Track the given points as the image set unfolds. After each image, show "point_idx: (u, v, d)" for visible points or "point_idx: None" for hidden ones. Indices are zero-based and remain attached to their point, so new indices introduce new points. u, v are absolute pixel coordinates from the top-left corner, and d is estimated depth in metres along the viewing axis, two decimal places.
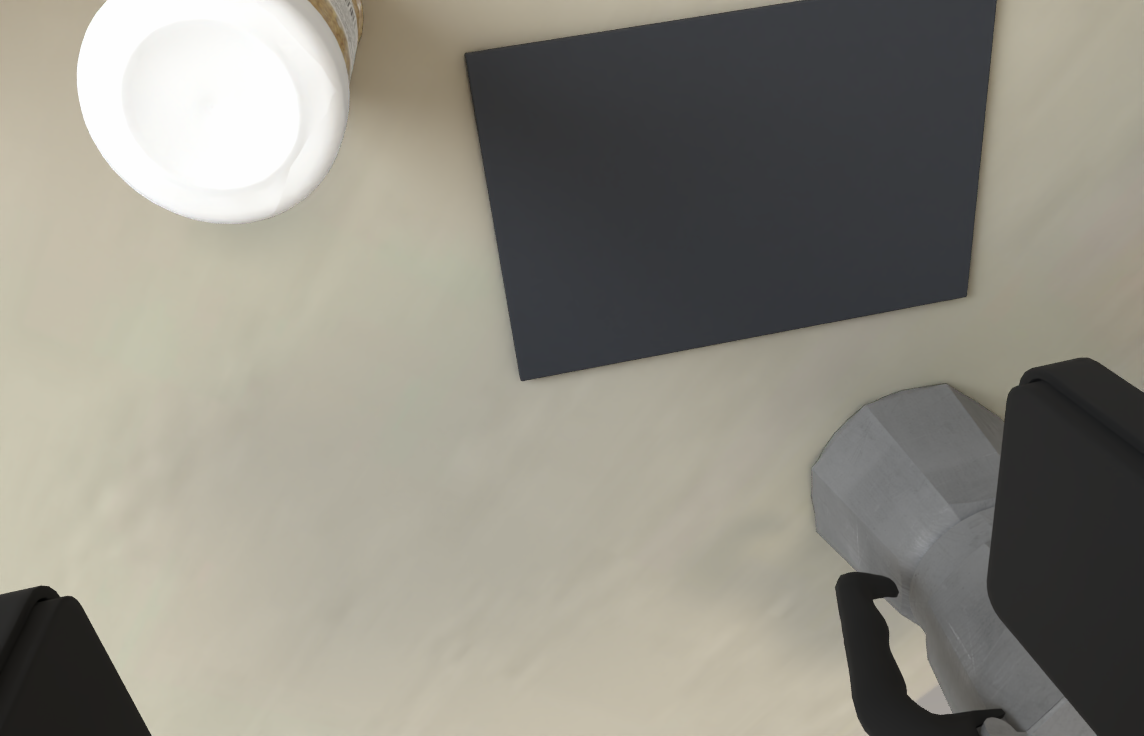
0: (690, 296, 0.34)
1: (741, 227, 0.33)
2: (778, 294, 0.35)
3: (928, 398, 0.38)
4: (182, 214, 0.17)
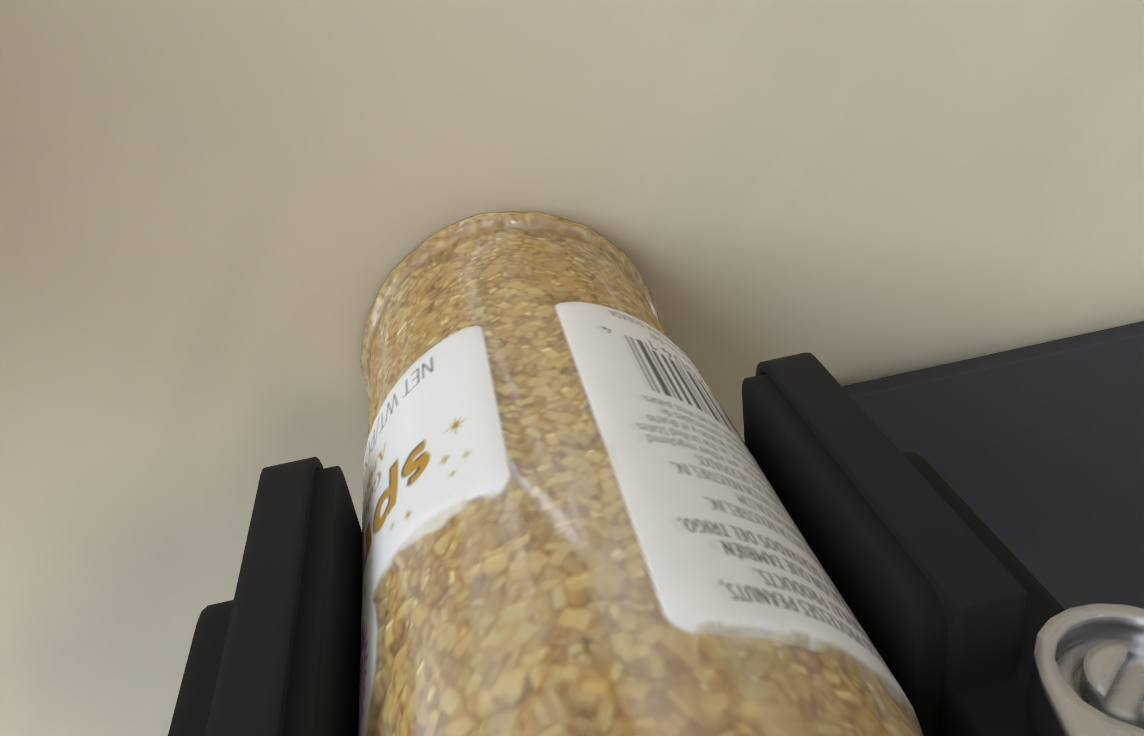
0: None
1: None
2: None
3: None
4: None
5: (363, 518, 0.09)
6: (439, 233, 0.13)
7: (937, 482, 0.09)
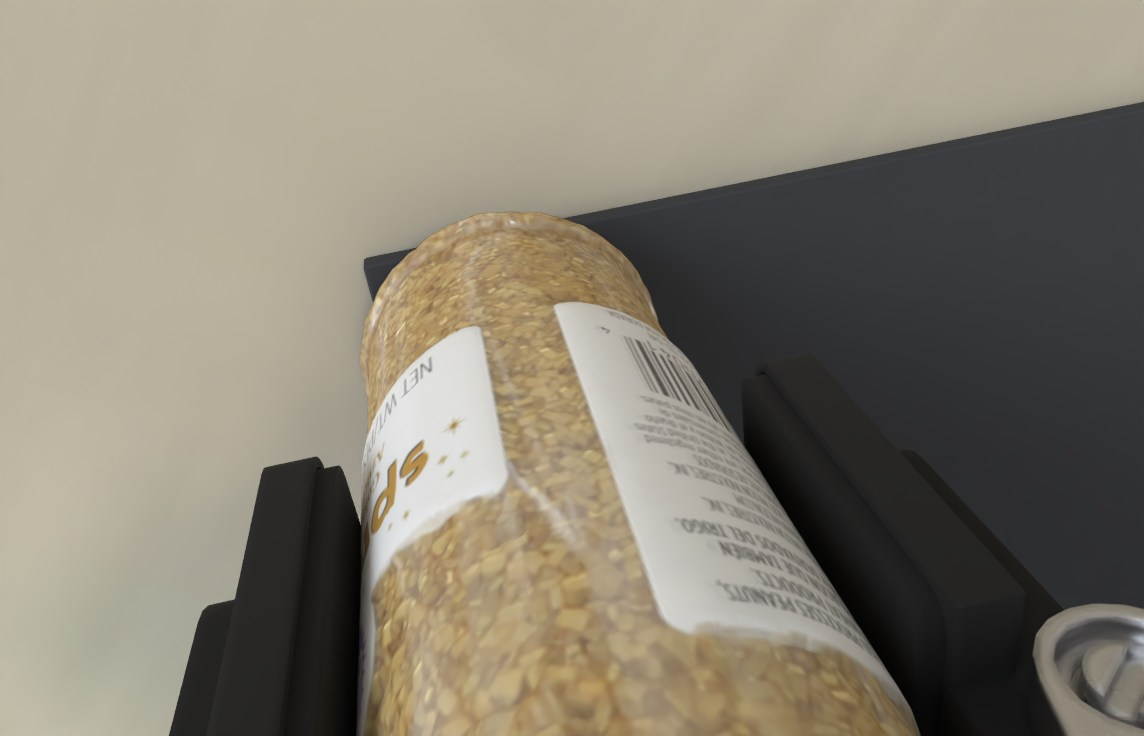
0: None
1: None
2: None
3: None
4: None
5: (362, 518, 0.09)
6: (438, 233, 0.13)
7: (936, 482, 0.09)
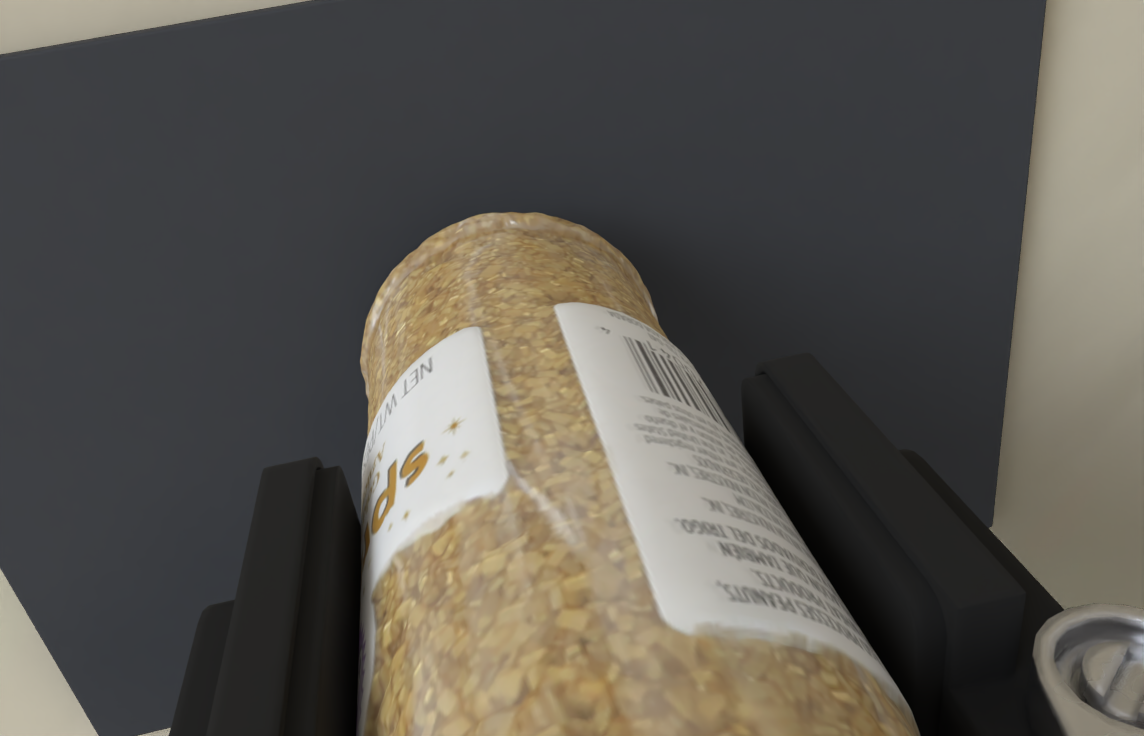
0: None
1: None
2: None
3: None
4: None
5: (362, 518, 0.09)
6: (439, 233, 0.13)
7: (936, 482, 0.09)
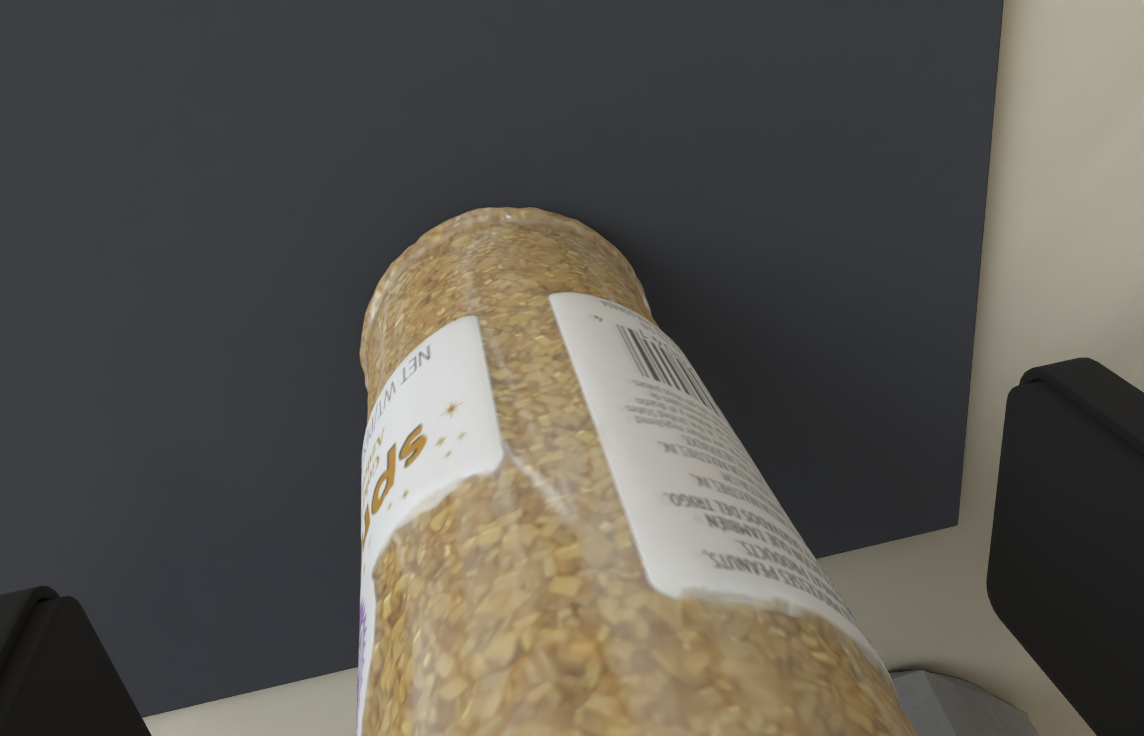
0: None
1: None
2: None
3: None
4: None
5: (362, 502, 0.10)
6: (436, 228, 0.13)
7: None
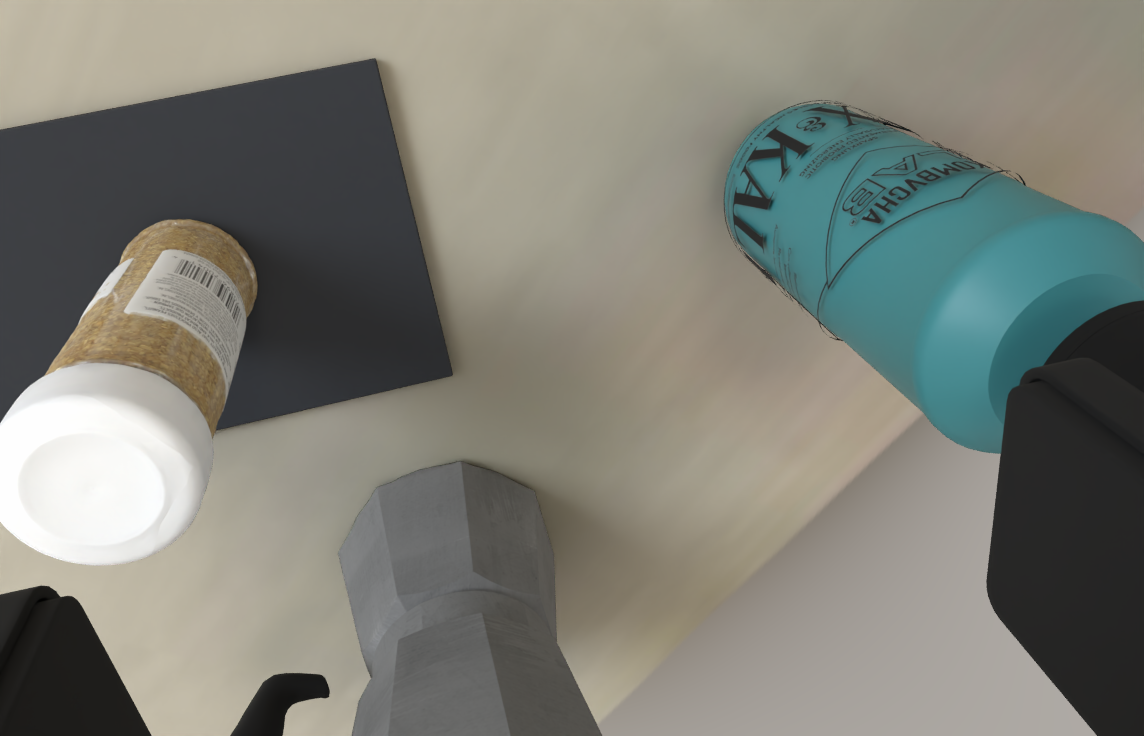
0: None
1: None
2: (238, 385, 0.34)
3: (436, 478, 0.37)
4: None
5: None
6: (146, 228, 0.30)
7: None
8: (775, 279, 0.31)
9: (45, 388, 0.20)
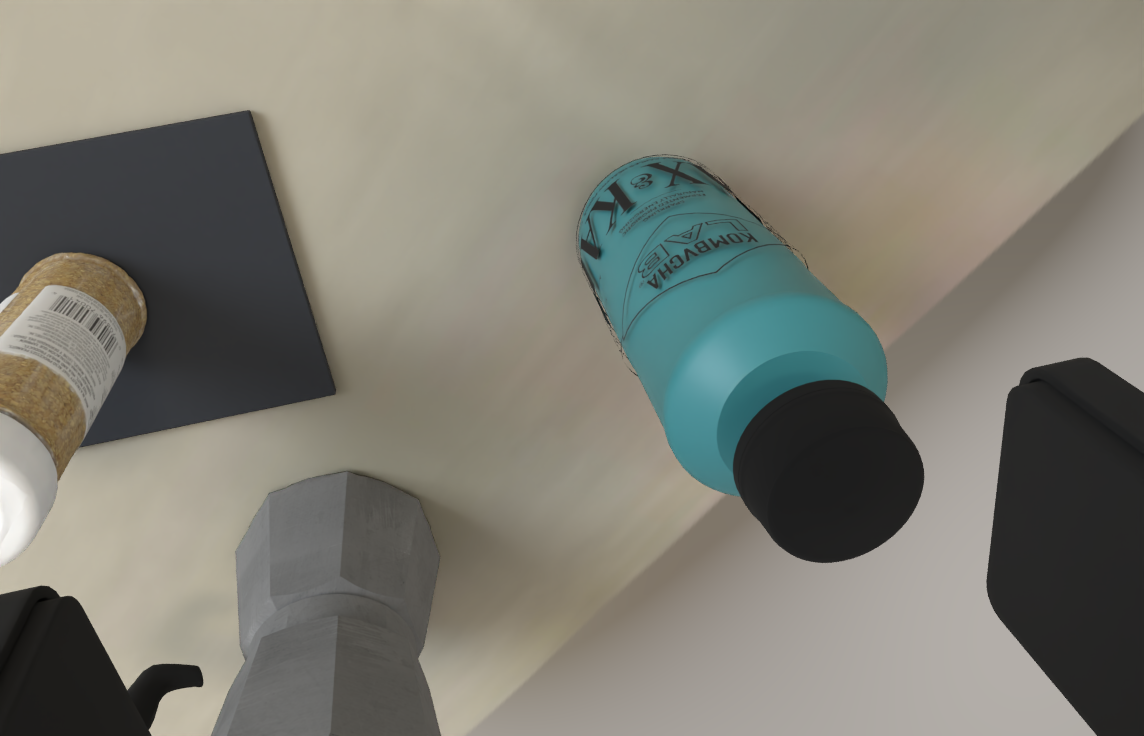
0: None
1: None
2: (134, 399, 0.37)
3: (323, 486, 0.40)
4: None
5: None
6: (41, 260, 0.34)
7: None
8: None
9: None
